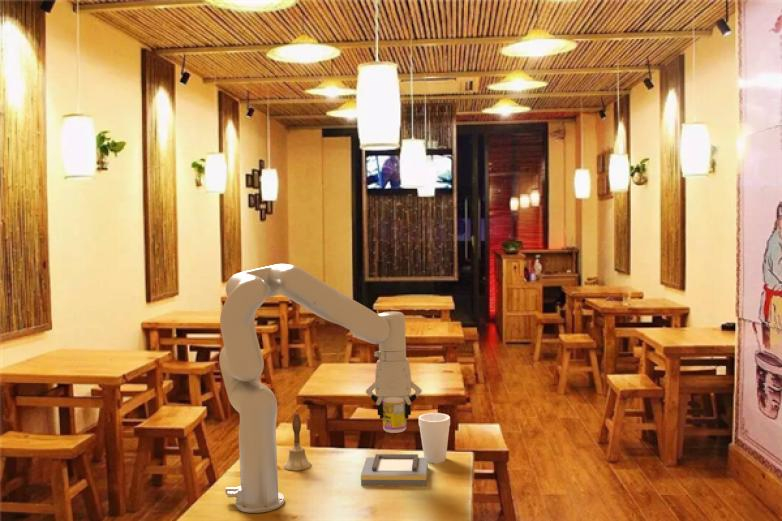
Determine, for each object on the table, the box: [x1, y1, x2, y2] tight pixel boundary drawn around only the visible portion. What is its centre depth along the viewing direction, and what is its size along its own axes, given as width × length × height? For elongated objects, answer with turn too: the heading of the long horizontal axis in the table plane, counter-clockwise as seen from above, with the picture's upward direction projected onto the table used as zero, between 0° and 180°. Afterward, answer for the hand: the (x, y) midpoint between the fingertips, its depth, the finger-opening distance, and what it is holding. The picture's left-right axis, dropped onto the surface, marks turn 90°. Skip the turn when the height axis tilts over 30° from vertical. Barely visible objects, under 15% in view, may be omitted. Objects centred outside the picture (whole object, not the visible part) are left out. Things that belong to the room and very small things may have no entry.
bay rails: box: [372, 453, 419, 471], centre depth 208 cm, size 12×11×1 cm
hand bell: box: [283, 412, 312, 472], centre depth 216 cm, size 8×8×16 cm
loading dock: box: [360, 456, 429, 487], centre depth 206 cm, size 18×14×3 cm
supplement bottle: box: [382, 397, 407, 434], centre depth 206 cm, size 7×7×13 cm
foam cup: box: [418, 412, 451, 464], centre depth 219 cm, size 10×9×13 cm
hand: (394, 417), depth 206 cm, fingers closed on supplement bottle, 6 cm apart
